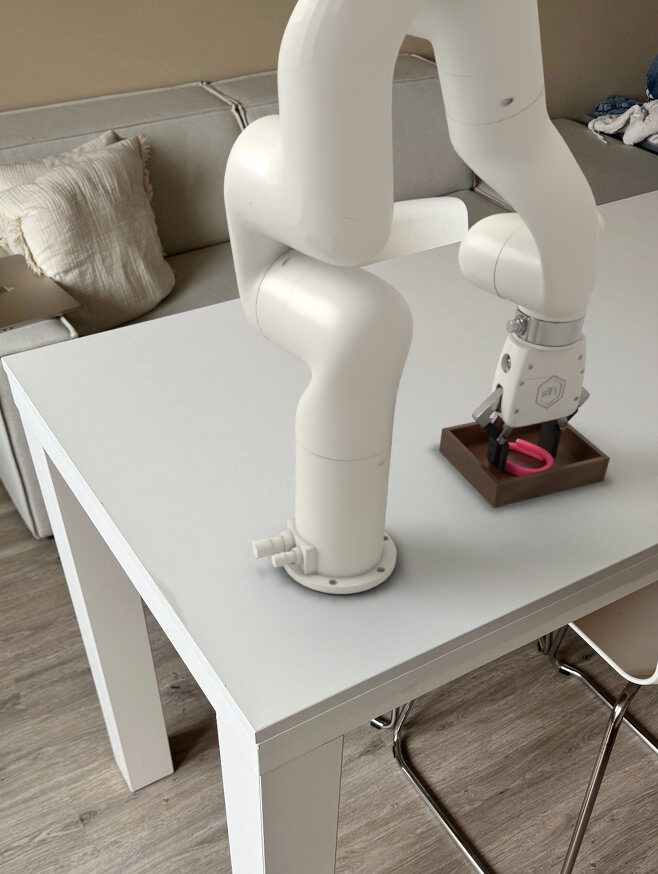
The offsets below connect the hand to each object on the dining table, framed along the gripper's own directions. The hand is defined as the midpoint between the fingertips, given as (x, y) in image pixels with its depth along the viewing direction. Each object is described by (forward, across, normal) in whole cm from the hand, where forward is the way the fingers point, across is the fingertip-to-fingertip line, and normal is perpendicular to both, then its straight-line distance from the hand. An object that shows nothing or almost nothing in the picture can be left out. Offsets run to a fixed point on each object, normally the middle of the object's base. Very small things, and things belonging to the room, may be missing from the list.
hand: (521, 458), depth 111 cm
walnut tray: (+1, 0, 0) cm, 1 cm away
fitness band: (+1, 0, 0) cm, 1 cm away
